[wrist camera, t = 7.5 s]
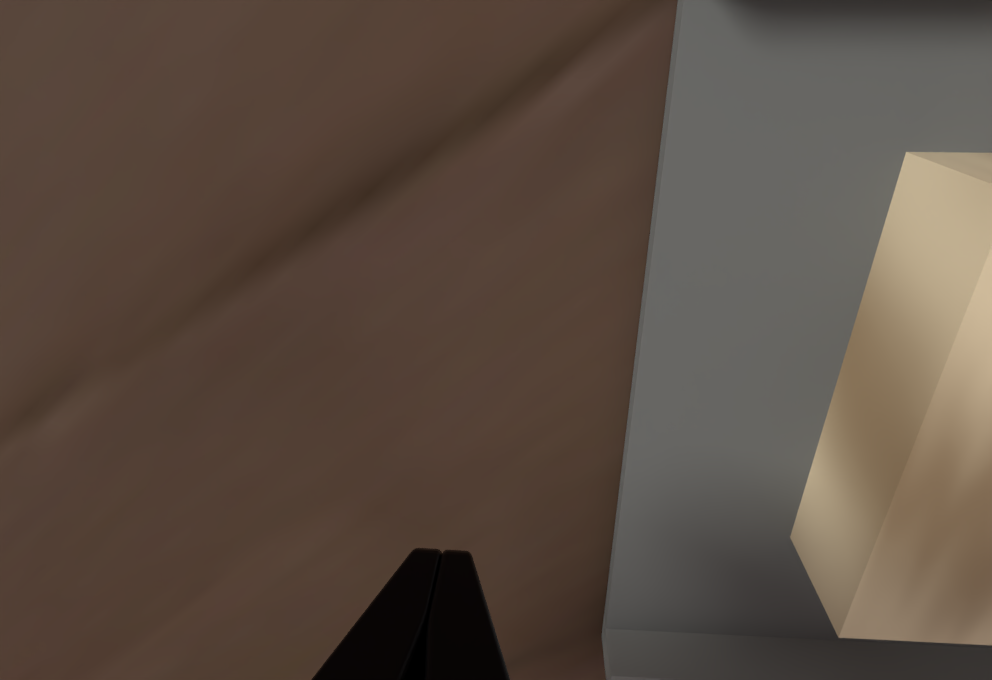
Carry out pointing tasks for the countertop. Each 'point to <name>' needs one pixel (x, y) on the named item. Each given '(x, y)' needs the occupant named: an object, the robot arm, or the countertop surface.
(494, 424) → the countertop surface
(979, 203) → the wooden block
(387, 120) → the countertop surface
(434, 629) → the robot arm
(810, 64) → the mat
